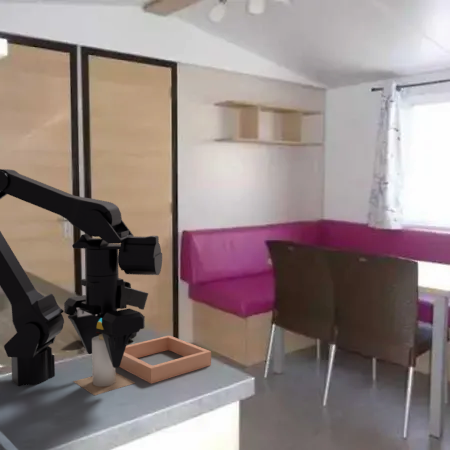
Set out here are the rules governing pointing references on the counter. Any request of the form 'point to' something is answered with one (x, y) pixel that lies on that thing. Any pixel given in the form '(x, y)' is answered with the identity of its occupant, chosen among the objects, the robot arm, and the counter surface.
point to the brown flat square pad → (95, 390)
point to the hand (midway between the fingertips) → (103, 360)
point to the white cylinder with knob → (101, 363)
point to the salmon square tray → (190, 362)
